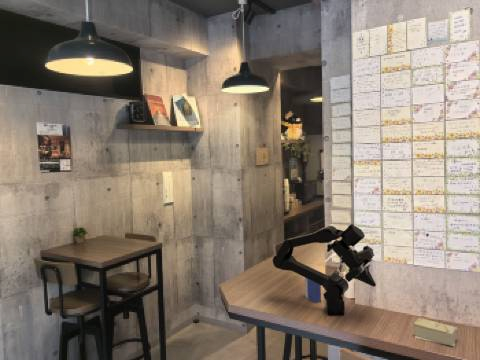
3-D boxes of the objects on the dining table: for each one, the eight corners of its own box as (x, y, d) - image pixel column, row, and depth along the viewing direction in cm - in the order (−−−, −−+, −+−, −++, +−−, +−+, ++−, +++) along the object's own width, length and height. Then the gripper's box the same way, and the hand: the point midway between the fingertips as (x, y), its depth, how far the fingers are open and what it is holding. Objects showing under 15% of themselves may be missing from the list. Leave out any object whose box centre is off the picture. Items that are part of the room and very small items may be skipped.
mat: (414, 337, 134) (414, 337, 134) (420, 321, 146) (420, 321, 146) (454, 346, 128) (454, 345, 128) (457, 328, 139) (457, 328, 139)
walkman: (321, 301, 167) (320, 274, 166) (315, 303, 166) (315, 275, 164) (310, 295, 174) (309, 269, 173) (305, 296, 173) (304, 270, 172)
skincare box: (419, 317, 139) (457, 326, 131) (419, 329, 140) (457, 339, 132) (413, 323, 135) (452, 333, 127) (413, 336, 135) (452, 346, 127)
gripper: (353, 246, 140) (385, 281, 135) (366, 235, 156) (396, 266, 151) (332, 264, 145) (362, 299, 140) (347, 252, 161) (374, 282, 156)
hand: (375, 285), depth 147 cm, fingers closed
